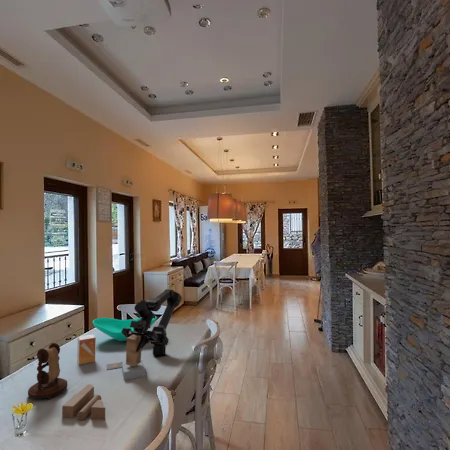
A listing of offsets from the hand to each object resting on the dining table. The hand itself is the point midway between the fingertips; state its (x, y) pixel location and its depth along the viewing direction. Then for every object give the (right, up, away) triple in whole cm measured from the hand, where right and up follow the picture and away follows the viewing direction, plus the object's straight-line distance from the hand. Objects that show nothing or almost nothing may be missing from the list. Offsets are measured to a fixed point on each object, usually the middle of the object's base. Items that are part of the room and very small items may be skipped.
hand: (132, 350), depth 147 cm
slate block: (0, -12, +1) cm, 12 cm away
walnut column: (0, -7, +1) cm, 7 cm away
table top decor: (-19, -13, +48) cm, 53 cm away
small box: (-29, -12, +15) cm, 35 cm away
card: (-12, -12, +9) cm, 19 cm away
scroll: (-31, -11, -17) cm, 37 cm away
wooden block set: (-7, -11, -27) cm, 30 cm away
